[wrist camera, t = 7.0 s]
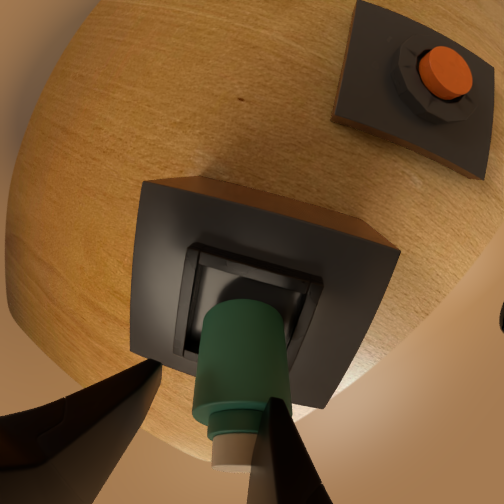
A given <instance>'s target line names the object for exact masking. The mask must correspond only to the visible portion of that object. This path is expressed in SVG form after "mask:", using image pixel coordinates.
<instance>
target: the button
mask: <svg viewBox="0 0 504 504" xmlns="http://www.w3.org/2000/svg"><path fill="white" fill-rule="evenodd" d="M419 74H420V77H421V79H422V81H423V83H424V85H425V86H426V87H427V89H428V90H429V91H430V92H431V93H432V94H434V95H435V96H437V97H439V98H441V99H445V100H451V99H454V98H456V97H459V96H461V95H464V94H466V93H468V92H469V91H470V89H471V87H472V74H471V71H470V69H469V67H468V65H467V63H466V62H465V60H464V59H463V58H462V57H461V56H460V55H459V54H458V53H457V52H456V51H454V50H452V49H450V48H448V47H444V46H438V47H435V48H434V49H432V50H431V51H430V52H429V53H427V54H426V55H425V56H424V57H423V58H422V59H421V60H420V63H419Z"/></svg>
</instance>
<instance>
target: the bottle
mask: <svg viewBox="0 0 504 504" xmlns="http://www.w3.org/2000/svg"><path fill="white" fill-rule="evenodd" d="M270 397H277V398H281V399H283V400H284V402H285V404H286V406H287V408H288V410H289V413H290V415H291V417H292V403H291V392H290V381H289V370H288V360H287V350H286V340H285V331H284V322H283V319H282V316H281V315H280V313H279V312H278V311H277V310H276V309H275V308H273V307H272V306H270V305H268V304H266V303H264V302H261V301H257V300H251V299H233V300H228V301H224V302H221V303H219V304H217V305H215V306H214V307H212V308H211V309H210V310H209V311H208V312H207V313H206V315H205V316H204V319H203V325H202V332H201V340H200V347H199V355H198V363H197V371H196V380H195V388H194V397H193V407H192V415H193V417H194V419H195V420H197V421H198V422H200V423H202V424H204V425H206V426H208V431H207V436H208V438H209V439H210V440H212V441H213V446H212V468H213V469H215V470H218V471H223V472H233V473H250V471H251V461H252V455H253V450H254V446H255V442H256V438H257V434H258V430H259V426H260V422H261V417H262V414H263V411H264V409H265V407H266V405H267V403H268V400H269V398H270Z"/></svg>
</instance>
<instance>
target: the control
mask: <svg viewBox="0 0 504 504" xmlns="http://www.w3.org/2000/svg"><path fill="white" fill-rule="evenodd" d="M438 46H444V47H448V48H450V49H452V50H454V51H456V52H457V53H458V54H459V55H460V56H461V57H462V58H463V59H464V60H465V62H466V63H467V65H468V67H469V69H470V71H471V74H472V87H471V89H470V91H469V92H468V93H466V94H464V95H461V96H459V97H456V98H454V99H451V100H445V99H441V98H439V97H437V96H435V95H434V94H432V93H431V92H430V91H429V90H428V89H427V87H426V86H425V85H424V83H423V81H422V79H421V77H420V74H419V63H420V60H421V59H422V58H423V57H424V56H425V55H426V54H427V53H429V52H430V51H431V50H432V49H434V48H435V47H438ZM493 111H494V67H492V66H491V65H489V64H488V63H487V62H485V61H484V60H482V59H481V58H480V57H478V56H477V55H475V54H474V53H472V52H470V51H469V50H467V49H466V48H464V47H463V46H461V45H459V44H458V43H456V42H454V41H453V40H451V39H449V38H447V37H446V36H444V35H442V34H440V33H438V32H436V31H434V30H432V29H430V28H428V27H426V26H424V25H422V24H420V23H418V22H416V21H414V20H412V19H409V18H407V17H405V16H403V15H400V14H398V13H395V12H393V11H390V10H388V9H385V8H382V7H380V6H377V5H374V4H371V3H368V2H365V1H362V0H357V1H356V4H355V7H354V10H353V13H352V19H351V24H350V30H349V35H348V40H347V45H346V50H345V55H344V60H343V65H342V70H341V74H340V79H339V84H338V88H337V93H336V97H335V102H334V106H333V110H332V114H331V119H330V121H332V122H336V123H339V124H342V125H345V126H348V127H351V128H354V129H357V130H360V131H363V132H366V133H369V134H371V135H374V136H377V137H380V138H382V139H385V140H387V141H390V142H392V143H395V144H397V145H400V146H402V147H405V148H407V149H409V150H412V151H414V152H416V153H418V154H421V155H423V156H425V157H427V158H429V159H431V160H434V161H436V162H438V163H440V164H442V165H444V166H446V167H448V168H450V169H452V170H454V171H456V172H457V173H459V174H461V175H463V176H465V177H467V178H468V179H476V180H484V178H485V173H486V168H487V162H488V156H489V150H490V142H491V134H492V124H493Z"/></svg>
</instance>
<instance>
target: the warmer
mask: <svg viewBox="0 0 504 504" xmlns="http://www.w3.org/2000/svg"><path fill="white" fill-rule="evenodd" d="M400 253H401V251H400V250H399V249H398V248H397V247H396V246H394V245H393V244H392V243H391V242H389V241H388V240H387V239H386V238H384V237H383V236H382V235H381V234H379V233H378V232H377V231H376V230H374V229H373V228H372V227H371V226H369V225H368V224H367V223H365V222H364V221H363V220H362V219H359V218H355V217H352V216H349V215H346V214H343V213H339V212H336V211H333V210H330V209H326V208H323V207H320V206H316V205H313V204H309V203H306V202H302V201H299V200H295V199H291V198H288V197H284V196H280V195H277V194H273V193H269V192H265V191H261V190H258V189H254V188H250V187H246V186H241V185H237V184H233V183H229V182H225V181H220V180H216V179H212V178H207V177H203V176H190V177H178V178H167V179H157V180H148V181H143V183H142V188H141V195H140V201H139V209H138V216H137V224H136V233H135V242H134V253H133V265H132V279H131V300H130V351H131V352H133V353H135V354H138V355H140V356H142V357H145V358H147V359H150V358H152V359H154V360H157V361H159V362H161V363H162V365H164V366H167V367H170V368H172V369H175V370H178V371H180V372H183V373H186V374H189V375H192V376H194V377H196V371H197V363H198V355H199V347H200V340H201V332H202V325H203V319H204V316H205V315H206V313H207V312H208V311H209V310H210V309H211V308H212V307H214V306H215V305H217V304H219V303H221V302H224V301H228V300H233V299H251V300H257V301H261V302H264V303H266V304H268V305H270V306H272V307H273V308H275V309H276V310H277V311H278V312H279V313H280V315H281V316H282V319H283V322H284V331H285V340H286V350H287V360H288V370H289V381H290V392H291V403H293V404H297V405H303V406H308V407H313V408H319V409H324V408H325V406H326V405H327V403H328V402H329V400H330V398H331V397H332V395H333V393H334V392H335V390H336V388H337V387H338V385H339V383H340V382H341V380H342V378H343V376H344V375H345V373H346V371H347V369H348V367H349V366H350V364H351V362H352V360H353V358H354V356H355V355H356V353H357V351H358V349H359V347H360V345H361V343H362V341H363V339H364V337H365V335H366V333H367V331H368V329H369V327H370V325H371V323H372V320H373V318H374V316H375V314H376V312H377V310H378V307H379V305H380V303H381V300H382V298H383V296H384V294H385V291H386V289H387V286H388V284H389V281H390V279H391V277H392V274H393V271H394V269H395V266H396V264H397V261H398V258H399V256H400Z"/></svg>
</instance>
